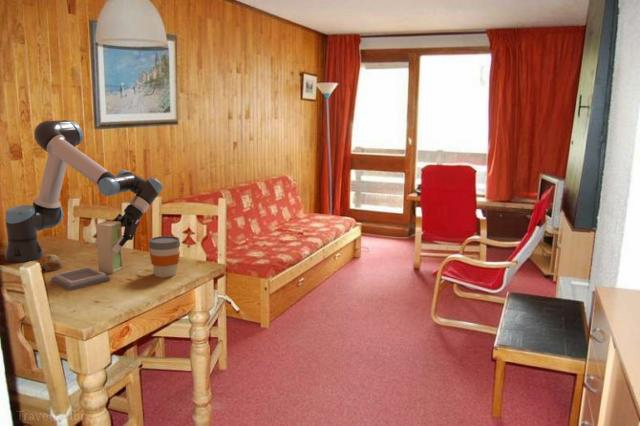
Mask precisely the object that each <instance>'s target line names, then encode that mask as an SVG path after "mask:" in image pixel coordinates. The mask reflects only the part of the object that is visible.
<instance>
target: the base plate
mask: <svg viewBox="0 0 640 426" xmlns="http://www.w3.org/2000/svg"><path fill="white" fill-rule="evenodd" d="M50 279H51V280H50V281H51V282H53V283H54V284H56V285H59V286H60V285H61V286H60V287H63V288H64V289H66V290H68V289H69V290H68V291H72V290H76V289H77V290H78V289H81V288H85V287H89V286H93V285H97V284H100V283H106V282H109V281H111V277H110V276H109V275H107V273H102V272H100V271H99V269H96V268H93V267H91V266H86V267H82V268H81V267H80V268H77V269H72V270H69V271H64V272H59V273H55V274H54V276H52V277H50Z"/></svg>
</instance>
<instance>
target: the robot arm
mask: <svg viewBox="0 0 640 426" xmlns="http://www.w3.org/2000/svg"><path fill="white" fill-rule="evenodd" d="M33 136H34V140H35V142H36V144H37V145H38V146H39V147H40V148H41V149H42V150H44V151H45V152H46V153H47V157H46V162H45V167H44V170H43V174H42V179H41V184H40V188H39V191H38V196H36V197H35V198H33V201H32V204H21V205H16V206H13V207H10V208H8V209H7V210H6V211H5V217H4V221H5V227H6V229H5V230H6V236H7V244H6V245H7V246H6V248H5V252H4V260H5V261H6V262H9V263H10V262H11V263H22V262H29V261H31V262H32V261H36V260H39V259H40V258H41V257H43V256H44V251H43V248H42V246H41V245H40V243H39V240H38V232H40V231H43V230H47V229H52V228H54V227H56V226H58V225H60V224H61V223H62V221H63V219H64V211H63V207H62V206H61V205H62V204H61V202H60V201H59V200H60V196H61V191H62V187H63V183H64V179H65V175H66V171H67V167H68V166H69V167H71V168H72V169H74V170H75V171H77V172H79V173H80V174H81V175H82V176H84V177H85V178H87V179H88V180H89V181H90V182H92V183H93V184H95V185H96V186H97V190H98V191H99V193H100V194H101V195H103V196H105V197H106V196H107V197H108V196H115V195H119V194H122V193H123V194H124V193H126V192H131V193H133V194H135V196H133V198H132V200H131V201H130V202H129V204H127V205H126V207H125V208H124V210H123V212H124V214H123V215H122V214H121V213H119V214H118V215H117V216H116V217H115V218H113V219H112V220H111V221H119V222H121V228H123V235H122V237H121V238H120V239H119V241H118V242H117V243H116V245H115V246H114V247H113V249H112V250H113V251H114V252H115V253H118V252H119V251H120V249H121V248H122V249H123V247H124V246H125V244H126V243H127V242H128V241H132V240H133V239H134V237H135V234H136V231H137V228H138V225H139V224H140V223H141V221H140V220H141V218H142V217H143V215H144V214H145V212H146V211H148V209H149V207H151V205H152V204H153V202H154V201H155V200H156V198H157V197H158V196H159V194H161V192H162V190H163V188H164V187H163V184H162V183H161V182H160V181H159V180H158V179H156V178H154V177H148V178H147V179H144V178H142V177H140V176H138V175H137V174H135V173H133V172H132V171H129V170H126V169H122V170H120V171H119V172H118V173H117V174H116V175H114V174H113V173H112V172H110V171H109V170H107V169H106V168H104V166H101V165H100V164H99V163H97V161H95V160H93V159H92V158H91V157H89V156H88V155H87V154H85V153H83V152H82V151H81V150H79V149H78V148H77V147H76V146H79V145H80V144H82V142H83V140H84V133H83V130H82V129H81V126H80V125H79V124H78V123H77V122H75V121H74V120H73V121H72V120H66V119H63V120H44V121H42V122H40V123H39V124H38V125H36V127H35V129H34V133H33ZM94 244H95V245H96V246H97V241H95V243H94Z"/></svg>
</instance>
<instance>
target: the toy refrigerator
mask: <svg viewBox="0 0 640 426" xmlns="http://www.w3.org/2000/svg"><path fill="white" fill-rule="evenodd" d="M95 227H96V242H97V245H96V246H97V257H98V258H97V259H98V271H100V272H102V273H105V274H112V275H113V274H115V273H117V272H119V271H120V270H123V269H124V261H123V247H122V248H121V249H120V251H119V252H118V253H115V252H114V251H113V250H112V249H113V247H114V246H115V245H116V243H117V242H118V241H119V239H120V238H121V237H122V236H123V235H122V227H121V222H119V221H112V220H104V221H102V222H99V223H96V225H95Z"/></svg>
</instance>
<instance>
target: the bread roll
mask: <svg viewBox="0 0 640 426" xmlns="http://www.w3.org/2000/svg"><path fill="white" fill-rule="evenodd" d="M36 262H39V263H40V265H41V268H42V271H45V272H54V271H58V270H60V269H61V268H63V267H64V266H63V262H62V259H60V257H59V256H58V255H55V254H50V253H49V254H43V256H42V257H41V258H39V259H37V261H36Z"/></svg>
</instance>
